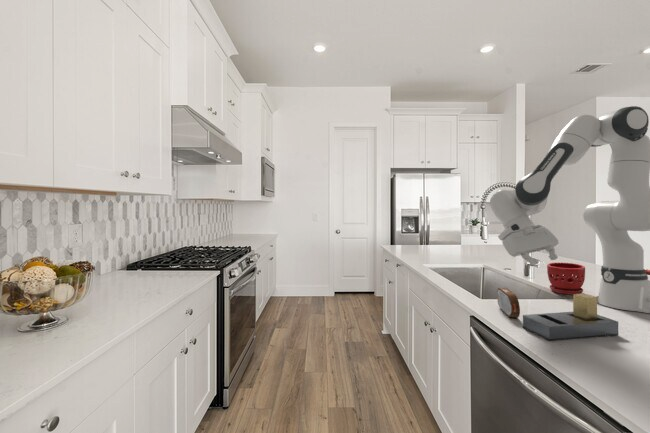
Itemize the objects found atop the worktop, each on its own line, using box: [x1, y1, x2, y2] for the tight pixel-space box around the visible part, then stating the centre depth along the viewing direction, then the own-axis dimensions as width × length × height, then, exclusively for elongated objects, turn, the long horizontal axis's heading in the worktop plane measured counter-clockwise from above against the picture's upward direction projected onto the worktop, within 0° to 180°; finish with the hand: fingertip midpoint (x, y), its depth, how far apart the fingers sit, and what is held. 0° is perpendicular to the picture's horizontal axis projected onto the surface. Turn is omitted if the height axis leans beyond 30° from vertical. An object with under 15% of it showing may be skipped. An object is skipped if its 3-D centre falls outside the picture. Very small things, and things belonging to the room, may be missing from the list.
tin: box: [496, 286, 521, 318], centre depth 112 cm, size 15×3×8 cm, turn 168°
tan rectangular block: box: [572, 292, 598, 321], centre depth 96 cm, size 4×4×10 cm
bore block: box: [522, 311, 619, 342], centre depth 95 cm, size 22×10×4 cm, turn 97°
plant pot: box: [546, 262, 586, 296], centre depth 137 cm, size 13×13×12 cm
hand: (545, 261), depth 109 cm, fingers open, 8 cm apart
